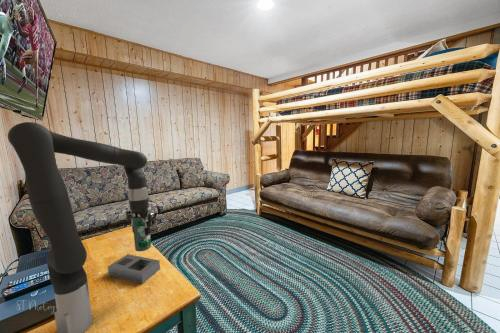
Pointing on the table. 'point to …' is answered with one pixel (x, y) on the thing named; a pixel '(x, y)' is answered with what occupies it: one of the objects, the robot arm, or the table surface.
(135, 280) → the block with square hole
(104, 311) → the table surface
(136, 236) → the can
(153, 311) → the table surface
